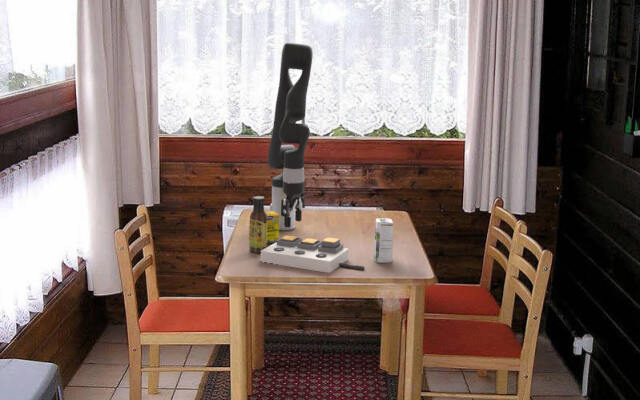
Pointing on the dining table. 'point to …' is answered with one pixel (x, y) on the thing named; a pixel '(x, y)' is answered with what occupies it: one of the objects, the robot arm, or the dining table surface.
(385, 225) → the syrup box
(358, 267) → the switch panel
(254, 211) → the sauce bottle
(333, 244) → the switch
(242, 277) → the dining table surface
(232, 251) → the dining table surface
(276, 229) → the supplement box
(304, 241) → the switch
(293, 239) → the switch
